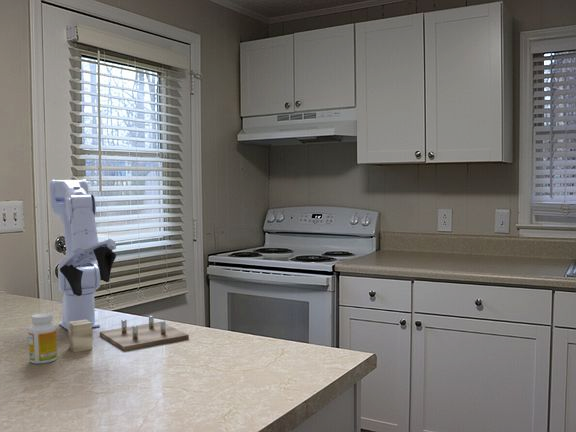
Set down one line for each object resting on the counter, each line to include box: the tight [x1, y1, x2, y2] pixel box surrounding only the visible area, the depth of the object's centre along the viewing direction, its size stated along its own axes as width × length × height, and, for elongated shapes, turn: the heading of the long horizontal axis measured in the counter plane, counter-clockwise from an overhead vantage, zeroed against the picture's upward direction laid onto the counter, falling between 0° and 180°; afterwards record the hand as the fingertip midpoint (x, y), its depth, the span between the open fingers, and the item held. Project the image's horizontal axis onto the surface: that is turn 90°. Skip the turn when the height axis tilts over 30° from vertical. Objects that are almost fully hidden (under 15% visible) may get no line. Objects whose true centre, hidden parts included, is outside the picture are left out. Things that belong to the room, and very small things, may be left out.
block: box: [68, 320, 93, 353], centre depth 132 cm, size 4×4×6 cm
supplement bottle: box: [28, 312, 58, 365], centre depth 123 cm, size 5×5×10 cm
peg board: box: [99, 315, 190, 352], centre depth 141 cm, size 16×16×4 cm
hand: (91, 287), depth 131 cm, fingers open, 7 cm apart
